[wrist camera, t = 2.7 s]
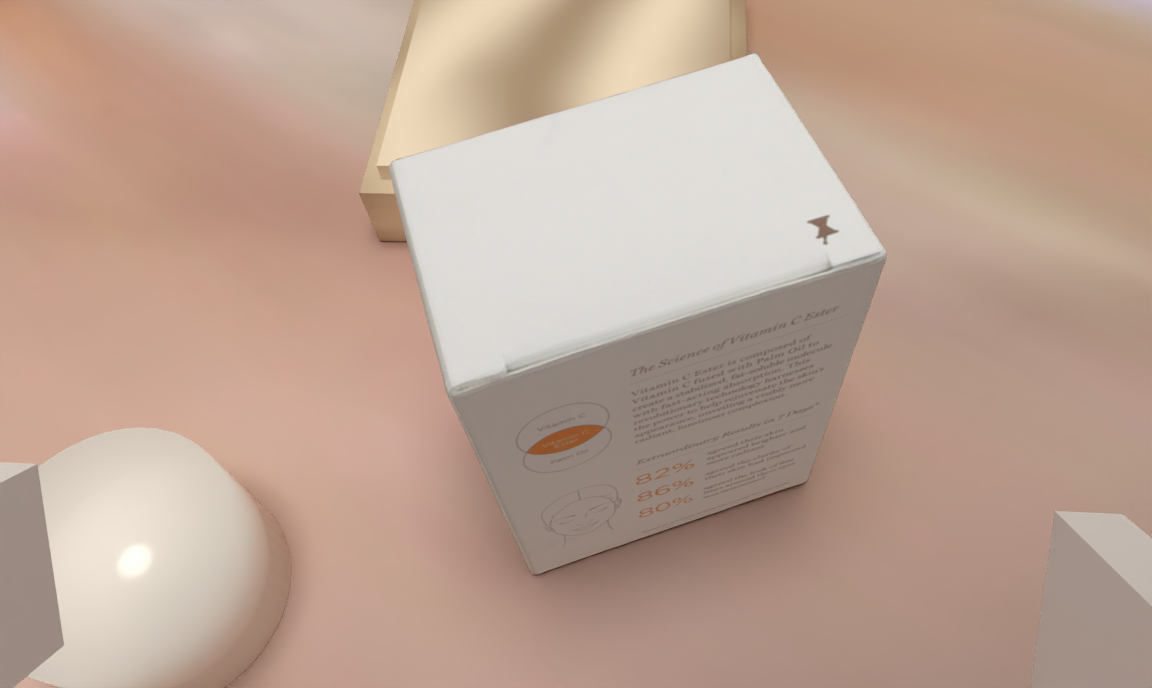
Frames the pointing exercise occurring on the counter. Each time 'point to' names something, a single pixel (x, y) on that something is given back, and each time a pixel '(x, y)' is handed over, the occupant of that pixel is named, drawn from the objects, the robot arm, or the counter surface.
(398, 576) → the counter surface
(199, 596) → the cream smooth rounded part
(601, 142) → the small box
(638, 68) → the podium
